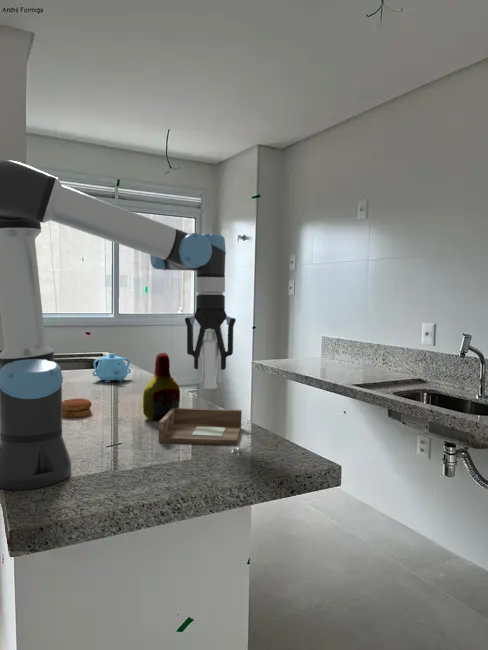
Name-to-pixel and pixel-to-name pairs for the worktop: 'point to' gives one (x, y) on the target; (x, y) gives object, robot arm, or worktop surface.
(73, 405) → the burger
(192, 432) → the brown wooden flat tray
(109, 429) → the worktop surface
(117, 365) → the teapot
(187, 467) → the worktop surface
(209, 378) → the white faceted vase
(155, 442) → the worktop surface
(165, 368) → the bottle
